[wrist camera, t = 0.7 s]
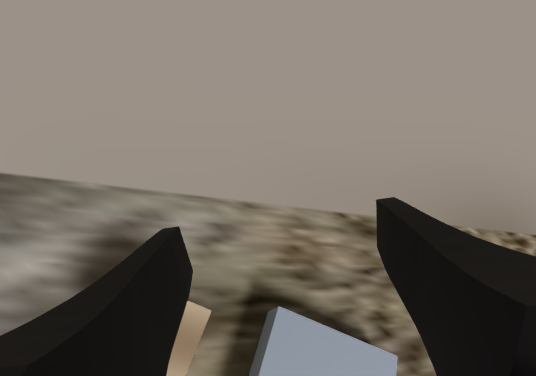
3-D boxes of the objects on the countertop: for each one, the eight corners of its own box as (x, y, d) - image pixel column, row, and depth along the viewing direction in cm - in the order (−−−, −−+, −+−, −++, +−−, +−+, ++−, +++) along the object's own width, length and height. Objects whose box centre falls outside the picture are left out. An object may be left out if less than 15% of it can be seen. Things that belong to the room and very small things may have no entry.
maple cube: (170, 392, 22) (176, 397, 17) (105, 367, 21) (92, 365, 17) (198, 323, 24) (211, 310, 19) (140, 300, 24) (139, 280, 19)
